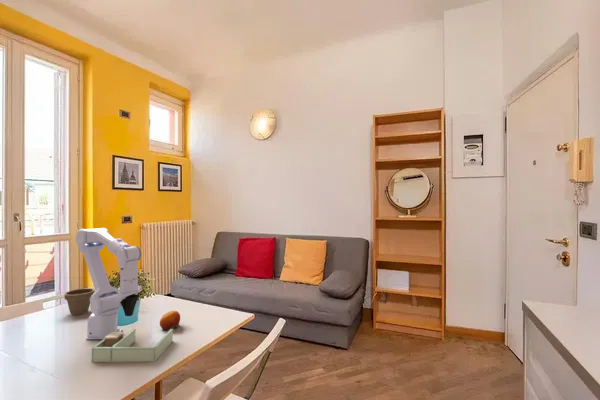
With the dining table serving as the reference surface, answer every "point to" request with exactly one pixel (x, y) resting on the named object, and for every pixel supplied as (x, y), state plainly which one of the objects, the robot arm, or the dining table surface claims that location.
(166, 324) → the fruit
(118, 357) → the divider frame
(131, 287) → the robot arm
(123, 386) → the dining table surface
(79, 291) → the flower pot
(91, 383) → the dining table surface
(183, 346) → the dining table surface
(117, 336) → the walnut box
